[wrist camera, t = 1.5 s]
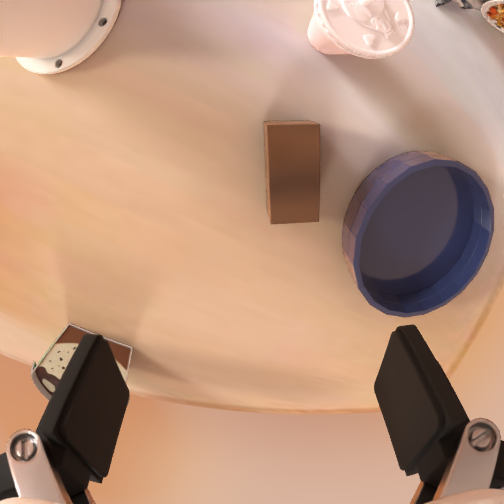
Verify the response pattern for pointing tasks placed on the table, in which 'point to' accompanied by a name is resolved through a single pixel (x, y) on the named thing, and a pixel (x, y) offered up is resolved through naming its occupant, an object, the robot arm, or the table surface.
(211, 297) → the table surface
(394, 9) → the smoothie
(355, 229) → the bowl
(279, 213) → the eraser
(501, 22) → the meal
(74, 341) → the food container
